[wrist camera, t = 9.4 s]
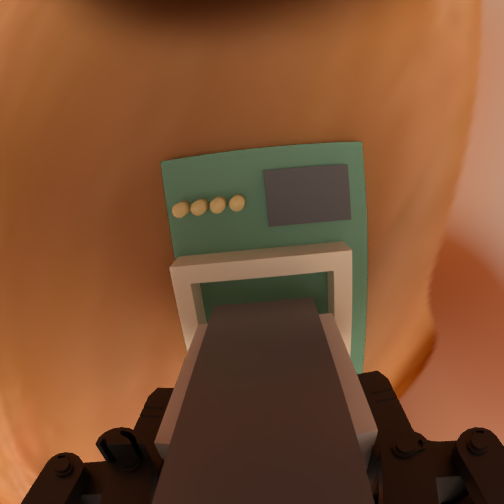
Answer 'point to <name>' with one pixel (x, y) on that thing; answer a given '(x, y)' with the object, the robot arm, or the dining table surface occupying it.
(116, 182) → the dining table surface
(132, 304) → the dining table surface
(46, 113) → the dining table surface
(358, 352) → the board
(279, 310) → the dark grey rectangular block
